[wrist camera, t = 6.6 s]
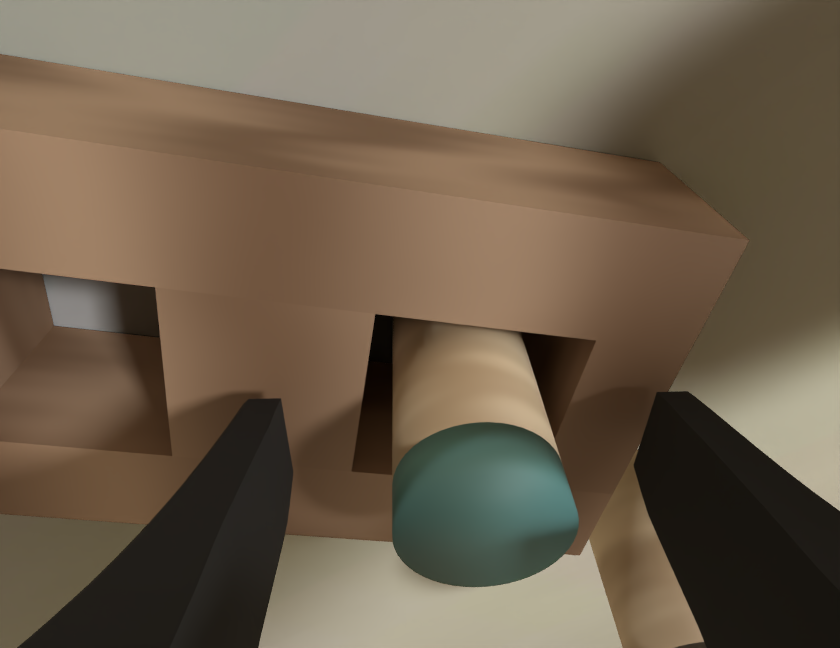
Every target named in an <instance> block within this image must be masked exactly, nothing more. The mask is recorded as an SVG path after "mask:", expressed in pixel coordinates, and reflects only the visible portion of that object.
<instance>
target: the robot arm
mask: <svg viewBox="0 0 840 648" xmlns="http://www.w3.org/2000/svg"><path fill="white" fill-rule="evenodd" d="M634 469H635V473H636V476H637V480H638V483H639V487H640V490H641V494H642V497H643V500H644V503H645V506H646V509H647V513H648V515H649V518H650V520H651V522H652V525H653V527H654V529H655V532H656V534H657V536H658V538H659V541H660V543H661V545H662V547H663V550H664V552H665V554H666V556H667V559H668V561H669V563H670V565H671V568H672V570H673V572H674V574H675V576H676V579H677V581H678V583H679V585H680V587H681V590H682V592H683V594H684V596H685V599H686V601H687V603H688V605H689V607H690V610H691V612H692V614H693V616H694V619H695V621H696V623H697V625H698V628H699V630H700V633H701V635H702V638H703V640H704V642H705V645H706V647H707V648H840V511H839V510H837V509H836V508H835V507H833V506H832V505H831V504H829V503H828V502H826V501H825V500H824V499H822V498H821V497H820V496H818V495H817V494H815V493H814V492H813V491H811V490H810V489H809V488H808V487H806V486H805V485H804V484H802V483H801V482H800V481H798V480H797V479H796V478H794V477H793V476H792V475H791V474H789V473H788V472H787V471H786V470H784V469H783V468H782V467H780V466H779V465H778V464H777V463H776V462H774V461H773V460H772V459H771V458H769V457H768V456H767V455H766V454H764V453H763V452H762V451H761V450H759V449H758V448H757V447H756V446H754V445H753V444H752V443H751V442H750V441H748V440H747V439H746V438H745V437H744V436H742V435H741V434H740V433H739V432H738V431H736V430H735V429H734V428H733V427H731V426H730V425H729V424H728V423H727V422H725V421H724V420H723V419H722V418H721V417H719V416H718V415H717V414H716V413H715V412H713V411H712V410H711V409H710V408H708V407H707V406H706V405H705V404H704V403H702V402H701V401H700V400H698V399H697V398H696V397H695V396H693V395H692V394H691V393H689V392H688V391H683V392H657V393H656V396H655V399H654V402H653V405H652V408H651V412H650V415H649V418H648V421H647V424H646V427H645V430H644V434H643V437H642V440H641V443H640V446H639V449H638V452H637V455H636V459H635V462H634ZM292 481H293V466H292V461H291V455H290V449H289V443H288V437H287V431H286V425H285V419H284V413H283V407H282V401H281V398H269V399H248V400H247V401H246V402H245V403H244V404H243V405H242V406H241V408H240V409H239V411H238V412H237V413H236V415H235V416H234V418H233V419H232V420H231V422H230V423H229V425H228V426H227V427H226V429H225V430H224V431H223V433H222V434H221V436H220V437H219V438H218V440H217V441H216V442H215V444H214V445H213V446H212V448H211V449H210V450H209V451H208V453H207V454H206V455H205V457H204V458H203V459H202V460H201V462H200V463H199V464H198V465H197V467H196V468H195V469H194V470H193V472H192V473H191V474H190V475H189V477H188V478H187V479H186V480H185V482H184V483H183V484H182V485H181V487H180V488H179V489H178V490H177V491H176V493H175V494H174V495H173V496H172V497H171V498H170V500H169V501H168V502H167V503H166V504H165V505H164V506H163V507H162V509H161V510H160V511H159V512H158V513H157V514H156V515H155V516H154V518H153V519H152V520H151V521H150V522H149V523H148V524H147V526H146V527H145V528H144V529H143V530H142V531H141V532H140V533H139V534H138V535H137V536H136V538H135V539H134V540H133V541H132V542H131V543H130V544H129V545H128V546H127V547H126V548H125V549H124V550H123V551H122V552H121V553H120V554H119V555H118V556H117V557H116V558H115V559H114V560H113V561H112V562H111V563H110V564H109V565H108V566H107V567H106V568H105V569H104V570H103V571H102V572H101V573H100V574H99V575H98V576H97V577H96V578H95V579H94V580H93V581H92V582H91V583H90V584H89V585H88V586H86V587H85V588H84V589H83V590H82V591H81V592H80V593H79V594H78V595H77V596H75V597H74V598H73V599H72V600H71V601H70V602H69V603H68V604H67V605H66V606H65V607H63V608H62V609H61V610H60V611H59V612H58V613H57V614H56V615H55V616H54V617H52V618H51V619H50V620H49V621H48V622H47V623H46V624H44V625H43V626H42V627H41V628H40V629H39V630H38V631H36V632H35V633H34V634H33V635H32V636H31V637H29V638H28V639H27V640H26V641H25V642H23V643H22V644H21V645H20V646H19V647H17V648H258V646H259V641H260V637H261V632H262V628H263V624H264V620H265V616H266V612H267V607H268V603H269V599H270V595H271V591H272V587H273V582H274V578H275V574H276V570H277V566H278V562H279V557H280V553H281V549H282V545H283V540H284V536H285V532H286V527H287V523H288V515H289V507H290V499H291V490H292Z"/></svg>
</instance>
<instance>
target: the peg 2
mask: <svg viewBox="0 0 840 648" xmlns="http://www.w3.org/2000/svg"><path fill="white" fill-rule="evenodd" d="M637 452H638V450H636V452H635V454H634V456H633V457H632V459H631V461H630V463H629V465H628V467H627V469H626V470H625V472H624V474H623V476H622V478H621V480H620V482H619V483H618V485H617V487H616V489H615V491H614V493H613V495H612V496H611V498H610V500H609V502H608V504H607V506H606V508H605V509H604V511H603V513H602V515H601V517H600V519H599V521H598V522H597V524H596V526H595V528H594V530H593V532H592V533H591V535H590V537H589V540H590V543H591V547H592V550H593V553H594V556H595V559H596V563H597V566H598V569H599V572H600V576H601V579H602V582H603V585H604V588H605V592H606V595H607V598H608V601H609V605H610V608H611V611H612V614H613V617H614V621H615V624H616V627H617V630H618V634H619V637H620V640H621V643H622V646H623V648H707V647H706V645H705V642H704V640H703V638H702V635H701V633H700V630H699V628H698V625H697V623H696V621H695V619H694V616H693V614H692V612H691V610H690V607H689V605H688V603H687V601H686V599H685V596H684V594H683V592H682V590H681V587H680V585H679V583H678V581H677V579H676V576H675V574H674V572H673V570H672V568H671V565H670V563H669V561H668V559H667V556H666V554H665V552H664V550H663V547H662V545H661V543H660V541H659V538H658V536H657V534H656V532H655V529H654V527H653V525H652V522H651V520H650V518H649V515H648V513H647V509H646V506H645V503H644V500H643V497H642V494H641V490H640V487H639V483H638V480H637V476H636V473H635V469H634V462H635V459H636V455H637Z"/></svg>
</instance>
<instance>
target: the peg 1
mask: <svg viewBox="0 0 840 648" xmlns="http://www.w3.org/2000/svg"><path fill="white" fill-rule="evenodd" d="M578 527H579V517H578V512H577V508H576V505H575V502H574V499H573V496H572V493H571V490H570V486H569V483H568V480H567V477H566V474H565V471H564V467H563V464H562V461H561V458H560V455H559V452H558V449H557V445H556V442H555V439H554V436H553V433H552V430H551V426H550V423H549V420H548V417H547V414H546V411H545V408H544V404H543V401H542V398H541V395H540V392H539V389H538V385H537V382H536V379H535V376H534V373H533V370H532V367H531V363H530V360H529V357H528V354H527V351H526V348H525V344H524V341H523V338H522V335H521V332H520V331H512V330H504V329H495V328H487V327H479V326H471V325H462V324H454V323H446V322H438V321H429V320H421V319H413V318H404V317H396V316H393V415H392V540H393V545H394V548H395V550H396V552H397V554H398V556H399V557H400V559H401V560H402V561H403V562H404V563H405V564H406V565H407V566H408V567H409V568H411V569H412V570H413V571H415V572H416V573H418V574H420V575H422V576H424V577H426V578H428V579H431V580H433V581H437V582H440V583H444V584H449V585H454V586H463V587H487V586H495V585H501V584H507V583H511V582H515V581H518V580H521V579H524V578H527V577H530V576H532V575H534V574H536V573H539V572H540V571H542V570H544V569H546V568H547V567H549V566H550V565H552V564H553V563H555V562H556V561H557V560H558V559H559V558H561V557H562V556H563V555H564V554H565V553H566V551H567V550H568V549H569V548H570V546H571V545H572V543H573V542H574V540H575V537H576V535H577V532H578Z"/></svg>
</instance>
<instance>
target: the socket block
mask: <svg viewBox="0 0 840 648" xmlns="http://www.w3.org/2000/svg"><path fill="white" fill-rule="evenodd" d="M749 241H750V240H748V239H747V238H746V237H745V236H744V235H743V234H742V233H740V232H739V231H738V230H737V229H736V228H735V227H734V226H732V225H731V224H730V223H729V222H728V221H727V220H726V219H724V218H723V217H722V216H721V215H720V214H719V213H717V212H716V211H715V210H714V209H713V208H712V207H711V206H709V205H708V204H707V203H706V202H705V201H704V200H703V199H701V198H700V197H699V196H698V195H697V194H696V193H694V192H693V191H692V190H691V189H690V188H689V187H688V186H686V185H685V184H684V183H683V182H682V181H681V180H680V179H678V178H677V177H676V176H675V175H674V174H673V173H671V172H670V171H669V170H668V169H667V168H666V167H665V166H663V165H662V164H661V163H660V162H654V161H648V160H642V159H636V158H630V157H624V156H618V155H612V154H606V153H599V152H593V151H587V150H581V149H575V148H569V147H563V146H557V145H551V144H545V143H538V142H532V141H526V140H520V139H514V138H508V137H502V136H496V135H490V134H484V133H478V132H471V131H465V130H459V129H453V128H447V127H441V126H435V125H429V124H423V123H417V122H410V121H404V120H398V119H392V118H386V117H380V116H374V115H368V114H362V113H356V112H350V111H343V110H337V109H331V108H325V107H319V106H313V105H307V104H301V103H295V102H289V101H283V100H276V99H270V98H264V97H258V96H252V95H246V94H240V93H234V92H228V91H222V90H215V89H209V88H203V87H197V86H191V85H185V84H179V83H173V82H167V81H161V80H155V79H148V78H142V77H136V76H130V75H124V74H118V73H112V72H106V71H100V70H94V69H87V68H81V67H75V66H69V65H63V64H57V63H51V62H45V61H39V60H33V59H27V58H20V57H14V56H8V55H2V54H0V514H9V515H23V516H37V517H51V518H65V519H79V520H93V521H107V522H121V523H135V524H148V523H149V522H150V521H151V520H152V519H153V518H154V516H155V515H156V514H157V513H158V512H159V511H160V510H161V509H162V507H163V506H164V505H165V504H166V503H167V502H168V501H169V500H170V498H171V497H172V496H173V495H174V494H175V493H176V491H177V490H178V489H179V488H180V487H181V485H182V484H183V483H184V482H185V480H186V479H187V478H188V477H189V475H190V474H191V473H192V472H193V470H194V469H195V468H196V467H197V465H198V464H199V463H200V462H201V460H202V459H203V458H204V457H205V455H206V454H207V453H208V451H209V450H210V449H211V448H212V446H213V445H214V444H215V442H216V441H217V440H218V438H219V437H220V436H221V434H222V433H223V431H224V430H225V429H226V427H227V426H228V425H229V423H230V422H231V420H232V419H233V418H234V416H235V415H236V413H237V412H238V411H239V409H240V408H241V406H242V405H243V404H244V403H245V402H246V401H247V400H248V399H269V398H281V401H282V407H283V413H284V419H285V425H286V431H287V437H288V443H289V449H290V455H291V461H292V466H293V481H292V490H291V499H290V507H289V515H288V523H287V527H286V532H285V534H289V535H303V536H317V537H331V538H345V539H359V540H373V541H387V542H393V540H392V415H393V363H384V362H375V361H368V359H369V352H370V346H371V339H372V332H373V326H374V319H375V314H380V315H388V316H396V317H404V318H413V319H421V320H429V321H438V322H446V323H454V324H462V325H471V326H479V327H487V328H495V329H504V330H512V331H520V332H521V335H522V338H523V341H524V344H525V348H526V351H527V354H528V357H529V360H530V363H531V367H532V370H533V373H534V376H535V379H536V382H537V385H538V389H539V392H540V395H541V398H542V401H543V404H544V408H545V411H546V414H547V417H548V420H549V423H550V426H551V430H552V433H553V436H554V439H555V442H556V445H557V449H558V452H559V455H560V458H561V461H562V464H563V467H564V471H565V474H566V477H567V480H568V483H569V486H570V490H571V493H572V496H573V499H574V502H575V505H576V508H577V512H578V517H579V527H578V532H577V535H576V537H575V540H574V542H573V543H572V545H571V546H570V548H569V549H568V550H567V551H566V553H565V554H569V555H580V554H581V552H582V550H583V548H584V546H585V545H586V543H587V541H588V539H589V537H590V535H591V533H592V532H593V530H594V528H595V526H596V524H597V522H598V521H599V519H600V517H601V515H602V513H603V511H604V509H605V508H606V506H607V504H608V502H609V500H610V498H611V496H612V495H613V493H614V491H615V489H616V487H617V485H618V483H619V482H620V480H621V478H622V476H623V474H624V472H625V470H626V469H627V467H628V465H629V463H630V461H631V459H632V457H633V456H634V454H635V452H636V450H637V448H638V446H639V445H640V443H641V440H642V437H643V434H644V430H645V427H646V424H647V421H648V418H649V415H650V412H651V408H652V405H653V402H654V399H655V396H656V393H657V392H668V391H669V389H670V387H671V385H672V383H673V381H674V380H675V378H676V376H677V374H678V372H679V370H680V368H681V367H682V365H683V363H684V361H685V359H686V357H687V356H688V354H689V352H690V350H691V348H692V346H693V344H694V343H695V341H696V339H697V337H698V335H699V333H700V331H701V330H702V328H703V326H704V324H705V322H706V320H707V318H708V317H709V315H710V313H711V311H712V309H713V307H714V305H715V304H716V302H717V300H718V298H719V296H720V294H721V292H722V291H723V289H724V287H725V285H726V283H727V281H728V279H729V278H730V276H731V274H732V272H733V270H734V268H735V267H736V265H737V263H738V261H739V259H740V257H741V255H742V254H743V252H744V250H745V248H746V246H747V244H748V242H749ZM42 274H49V275H57V276H65V277H74V278H82V279H90V280H98V281H107V282H115V283H123V284H132V285H140V286H148V287H155V291H156V301H157V311H158V321H159V331H160V338H158V337H149V336H140V335H131V334H122V333H113V332H104V331H95V330H86V329H77V328H68V327H59V326H54V325H53V320H52V316H51V311H50V307H49V302H48V298H47V294H46V289H45V285H44V280H43V276H42Z"/></svg>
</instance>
